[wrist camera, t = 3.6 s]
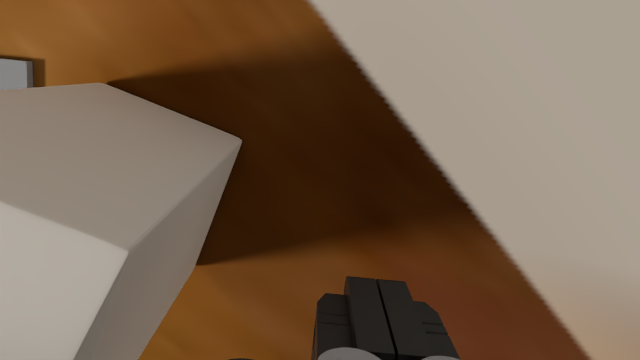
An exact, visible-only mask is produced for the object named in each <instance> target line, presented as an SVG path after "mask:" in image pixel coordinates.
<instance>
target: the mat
mask: <svg viewBox="0 0 640 360" xmlns="http://www.w3.org/2000/svg"><path fill="white" fill-rule="evenodd" d="M22 88H33V62H32V61H22V60H12V59H2V58H0V90H8V89H22Z"/></svg>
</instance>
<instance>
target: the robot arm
mask: <svg viewBox="0 0 640 360" xmlns="http://www.w3.org/2000/svg"><path fill="white" fill-rule="evenodd" d="M229 360H252V359H241V358H238V359H229ZM311 360H460V358H459V356H458V354H457V352H456V350H455V348H454V346H453V344H452V341H451V339H450V337H449V336H448V333H447V331H446V329H445V327H444V326H443V323H442V321H441V319H440V317H439V315H438V313H437V312H436V311H435V310H434V309H432V308H431V307H430V306H429V305H428V304H426V303H425V302H417V301H413V300H412V297H411V295H410V292H409V290H408V287H407V285H406V283H405V282H404V281H393V280H382V279H376V280H375V279H370V278H360V277H349V276H347V277H346V281H345V288H344V295H340V294H329V293H325V294H324V295H323V296H322V298H321V299H320V300H319V301H318V302H317V310H316V319H315V328H314V338H313V347H312V357H311Z"/></svg>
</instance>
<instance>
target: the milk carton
mask: <svg viewBox="0 0 640 360" xmlns="http://www.w3.org/2000/svg"><path fill="white" fill-rule="evenodd" d="M241 144H242V140H241V139H240V138H238V137H236V136H234V135H231V134H229V133H226V132H224V131H222V130H219V129H217V128H214V127H212V126H209V125H207V124H204V123H202V122H199V121H197V120H194V119H192V118H189V117H187V116H184V115H182V114H179V113H177V112H174V111H172V110H169V109H167V108H164V107H162V106H159V105H157V104H154V103H152V102H149V101H147V100H144V99H142V98H140V97H137V96H135V95H132V94H130V93H127V92H125V91H122V90H120V89H117V88H115V87H112V86H109V85H107V84H103V83H89V84H75V85H62V86H49V87H35V88H22V89H8V90H0V360H138V359H139V357H140V356H141V354H142V352H143V351H144V349H145V347H146V346H147V344H148V343H149V341H150V339H151V338H152V336H153V334H154V333H155V331H156V330H157V328H158V326H159V325H160V323H161V321H162V320H163V318H164V317H165V315H166V313H167V312H168V310H169V308H170V307H171V305H172V304H173V302H174V300H175V299H176V297H177V296H178V294H179V292H180V291H181V289H182V287H183V286H184V284H185V283H186V281H187V279H188V278H189V276H190V274H191V273H192V271H193V270H194V267H195V265H196V262H197V259H198V257H199V254H200V252H201V249H202V246H203V244H204V241H205V238H206V236H207V233H208V231H209V228H210V225H211V223H212V220H213V217H214V215H215V212H216V210H217V207H218V204H219V202H220V199H221V196H222V194H223V191H224V188H225V186H226V183H227V181H228V178H229V175H230V173H231V170H232V167H233V165H234V162H235V160H236V157H237V154H238V152H239V149H240V146H241Z"/></svg>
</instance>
